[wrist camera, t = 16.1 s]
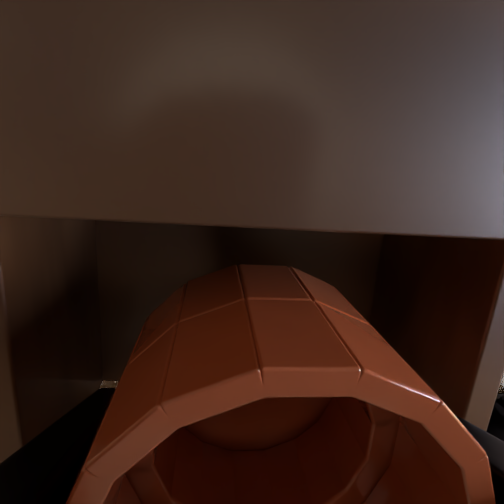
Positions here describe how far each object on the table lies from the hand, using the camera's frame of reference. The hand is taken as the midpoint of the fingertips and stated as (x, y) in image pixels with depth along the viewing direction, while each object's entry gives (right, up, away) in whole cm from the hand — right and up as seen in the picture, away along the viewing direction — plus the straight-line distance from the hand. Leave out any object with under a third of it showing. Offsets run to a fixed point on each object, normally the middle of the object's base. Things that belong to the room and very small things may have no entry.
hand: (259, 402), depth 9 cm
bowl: (0, 0, +1) cm, 1 cm away
